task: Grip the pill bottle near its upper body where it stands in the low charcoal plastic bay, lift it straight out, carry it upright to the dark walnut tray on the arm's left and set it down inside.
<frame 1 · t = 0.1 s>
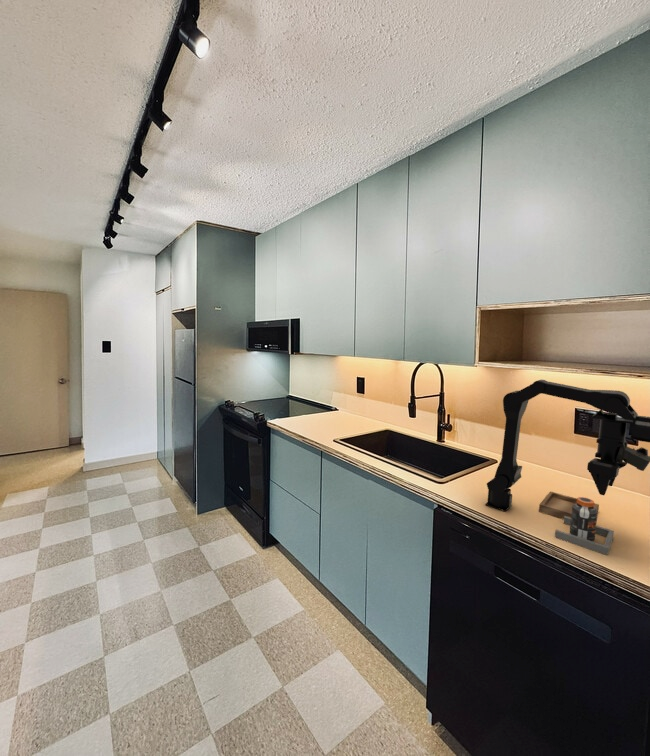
hand: (606, 490, 101), 14 cm above the countertop, tool pointing down, fingers open, 9 cm apart
bay: (581, 536, 104), on the countertop
pill bottle: (581, 537, 104), on the countertop
tray: (568, 511, 118), on the countertop
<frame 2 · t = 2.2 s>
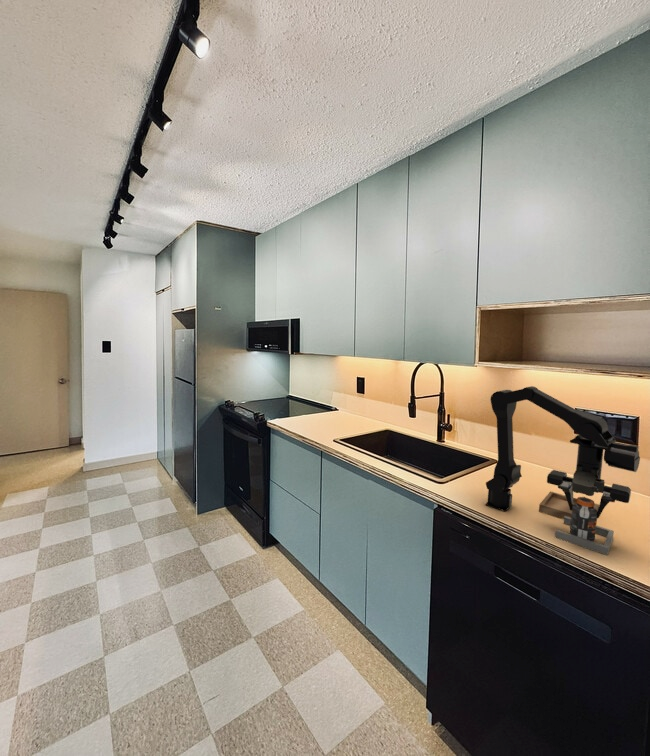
hand: (584, 513, 103), 7 cm above the countertop, tool pointing down, fingers closed on pill bottle, 6 cm apart
pill bottle: (581, 537, 104), on the countertop, touching gripper
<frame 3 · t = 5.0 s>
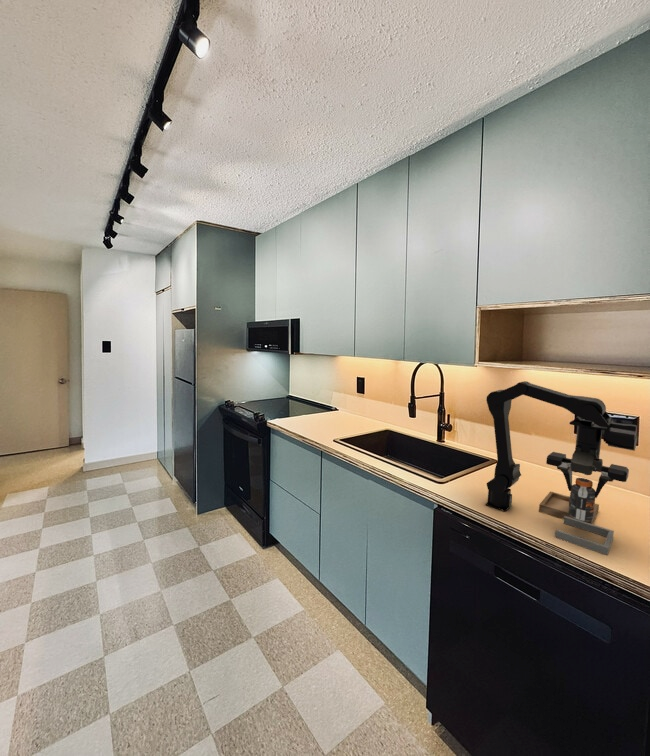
hand: (582, 493, 105), 12 cm above the countertop, tool pointing down, fingers closed on pill bottle, 6 cm apart
pill bottle: (580, 517, 106), point 5 cm above the countertop, touching gripper
when the fingers open (9 cm above the countertop, at t = 7.9 s): pill bottle drops 1 cm, resting on tray.
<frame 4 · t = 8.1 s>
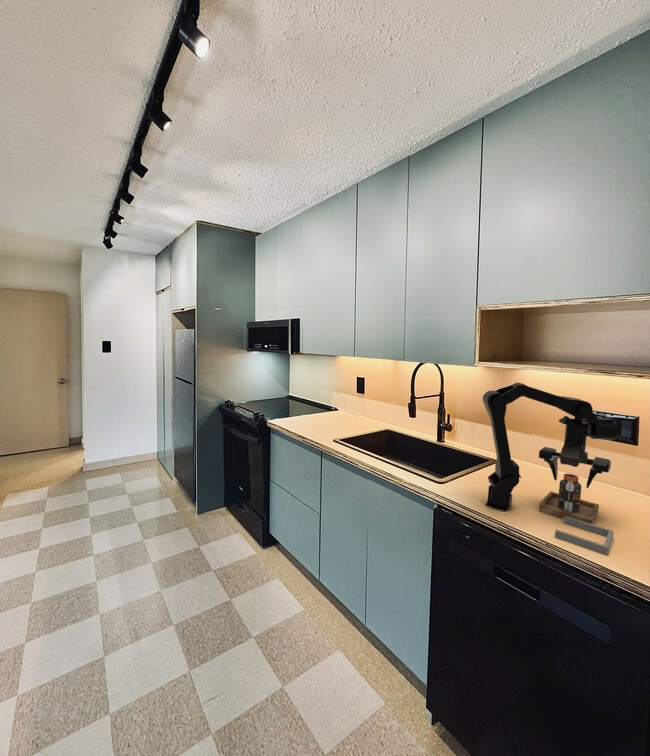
hand: (571, 484, 117), 9 cm above the countertop, tool pointing down, fingers open, 8 cm apart
pill bottle: (568, 509, 118), point 1 cm above the countertop, touching tray
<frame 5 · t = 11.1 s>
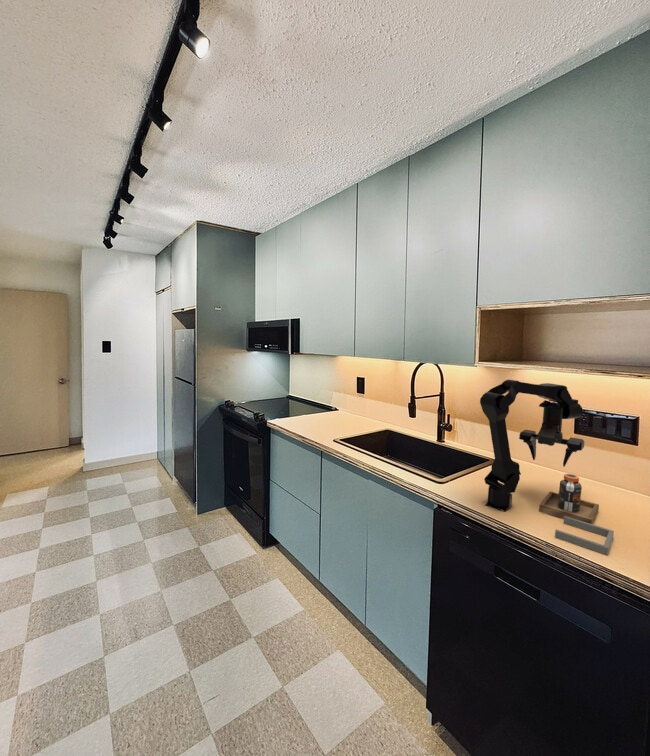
hand: (548, 463, 127), 13 cm above the countertop, tool pointing down, fingers open, 9 cm apart
nothing on the countertop moved.
at the end: pill bottle inside the target area on the tray (0.2 cm from its centre), point 0.8 cm above the tray's base; pill bottle tilted 0°; the gripper is holding nothing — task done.
